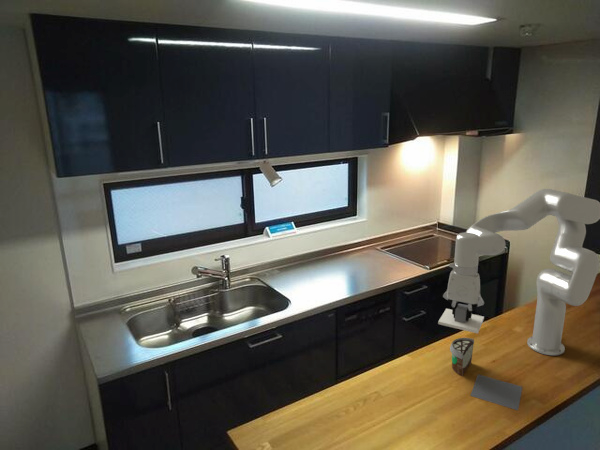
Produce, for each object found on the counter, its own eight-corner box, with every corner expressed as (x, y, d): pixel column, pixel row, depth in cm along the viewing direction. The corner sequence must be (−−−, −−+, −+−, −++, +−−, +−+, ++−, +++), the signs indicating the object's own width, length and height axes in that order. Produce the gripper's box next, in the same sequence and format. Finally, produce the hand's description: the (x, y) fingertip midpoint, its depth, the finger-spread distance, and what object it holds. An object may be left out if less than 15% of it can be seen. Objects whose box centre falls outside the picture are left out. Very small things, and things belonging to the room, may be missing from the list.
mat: (477, 375, 149) (477, 374, 149) (522, 388, 142) (522, 386, 141) (470, 397, 138) (470, 395, 138) (517, 412, 131) (518, 410, 131)
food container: (455, 357, 160) (457, 333, 157) (472, 362, 156) (474, 338, 154) (443, 373, 151) (444, 348, 148) (460, 379, 147) (462, 354, 145)
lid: (446, 310, 156) (447, 297, 155) (483, 319, 150) (485, 305, 148) (438, 324, 147) (439, 309, 146) (477, 333, 141) (479, 318, 139)
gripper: (437, 268, 144) (434, 316, 149) (490, 277, 136) (484, 328, 141) (443, 261, 151) (440, 308, 156) (493, 269, 142) (488, 318, 147)
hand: (461, 317), depth 148 cm, fingers closed on lid, 3 cm apart
